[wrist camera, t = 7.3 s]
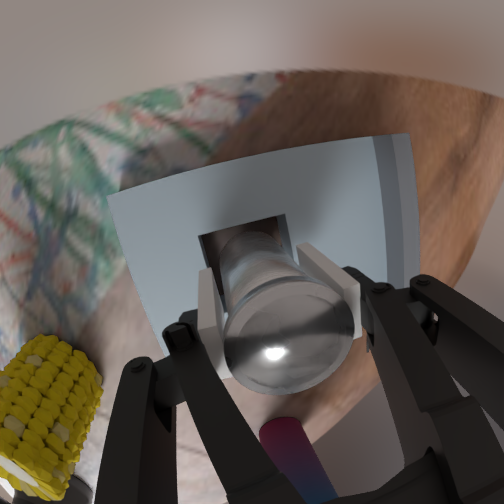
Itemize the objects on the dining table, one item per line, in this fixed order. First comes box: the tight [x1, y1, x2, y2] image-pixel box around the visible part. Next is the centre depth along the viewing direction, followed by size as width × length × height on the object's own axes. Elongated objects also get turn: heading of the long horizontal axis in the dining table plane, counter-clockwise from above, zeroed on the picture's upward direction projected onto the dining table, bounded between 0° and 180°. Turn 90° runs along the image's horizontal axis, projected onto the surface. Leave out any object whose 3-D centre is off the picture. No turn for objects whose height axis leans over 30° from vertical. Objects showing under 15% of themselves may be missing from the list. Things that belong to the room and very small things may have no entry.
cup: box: [259, 417, 339, 504], centre depth 22 cm, size 7×7×15 cm
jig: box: [106, 133, 420, 357], centre depth 20 cm, size 20×14×5 cm
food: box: [0, 334, 104, 501], centre depth 16 cm, size 15×12×10 cm
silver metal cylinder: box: [220, 231, 355, 395], centre depth 15 cm, size 5×5×10 cm
